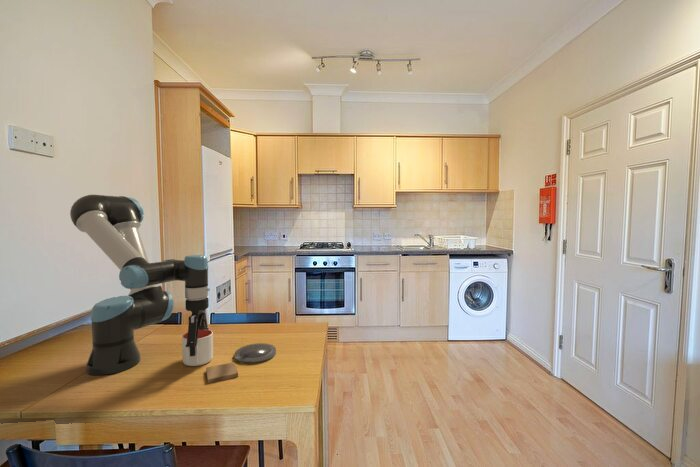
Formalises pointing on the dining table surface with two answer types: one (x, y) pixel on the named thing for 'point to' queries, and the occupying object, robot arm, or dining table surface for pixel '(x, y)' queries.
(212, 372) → the oak coaster
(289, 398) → the dining table surface
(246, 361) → the grey plate
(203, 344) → the cup
